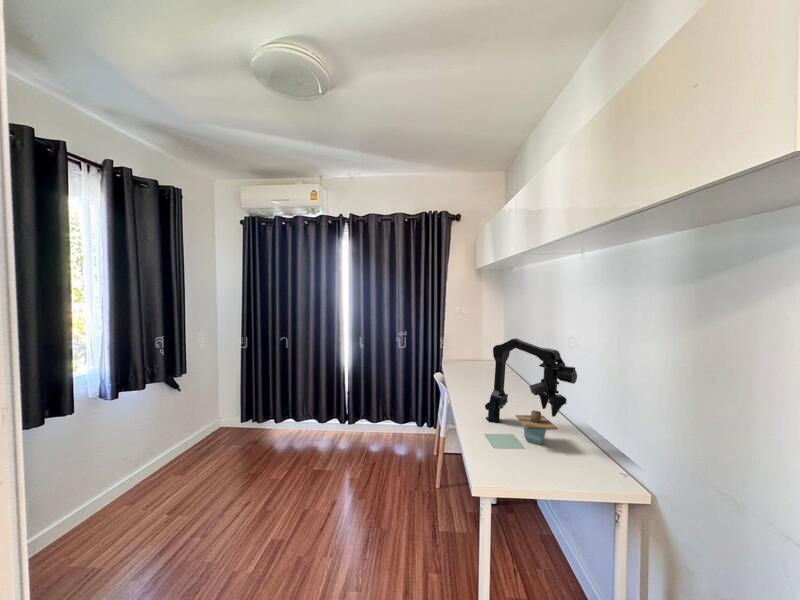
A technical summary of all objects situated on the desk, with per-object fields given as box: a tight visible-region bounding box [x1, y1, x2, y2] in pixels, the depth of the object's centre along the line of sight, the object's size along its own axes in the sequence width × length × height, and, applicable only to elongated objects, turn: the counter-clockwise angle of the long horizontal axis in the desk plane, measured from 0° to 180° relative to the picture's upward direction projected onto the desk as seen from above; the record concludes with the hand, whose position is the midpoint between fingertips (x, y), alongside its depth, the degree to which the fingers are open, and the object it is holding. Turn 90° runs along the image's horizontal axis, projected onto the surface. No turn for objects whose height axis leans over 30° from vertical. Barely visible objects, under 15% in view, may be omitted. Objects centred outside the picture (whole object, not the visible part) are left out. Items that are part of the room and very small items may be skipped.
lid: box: [515, 410, 558, 430], centre depth 152 cm, size 13×13×5 cm
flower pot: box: [523, 425, 547, 446], centre depth 152 cm, size 9×9×9 cm
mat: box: [483, 433, 526, 450], centre depth 152 cm, size 14×14×1 cm
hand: (548, 412), depth 153 cm, fingers open, 9 cm apart
